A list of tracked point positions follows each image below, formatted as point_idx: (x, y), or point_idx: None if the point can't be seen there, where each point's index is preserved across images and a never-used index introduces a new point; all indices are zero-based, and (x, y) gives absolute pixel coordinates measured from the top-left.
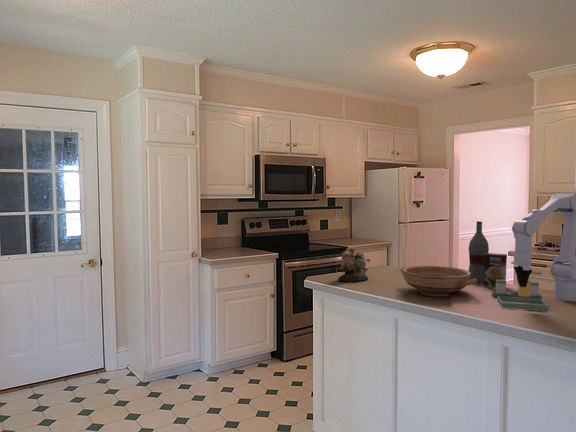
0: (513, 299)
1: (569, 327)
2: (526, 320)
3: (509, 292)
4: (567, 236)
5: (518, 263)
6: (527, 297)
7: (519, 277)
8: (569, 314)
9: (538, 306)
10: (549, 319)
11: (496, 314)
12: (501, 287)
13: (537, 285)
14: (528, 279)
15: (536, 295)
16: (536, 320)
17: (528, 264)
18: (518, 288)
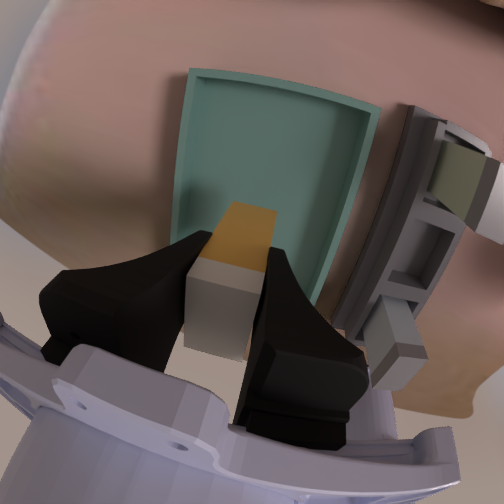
0: (344, 194)
1: (37, 243)
2: (53, 143)
3: (452, 231)
4: None
5: (4, 375)
6: (370, 286)
7: (141, 261)
8: None
9: None
10: (83, 227)
11: (105, 41)
12: (461, 181)
13: (373, 373)
14: (188, 330)
15: (367, 329)
16: (60, 178)
17: (21, 410)
18: (272, 230)
